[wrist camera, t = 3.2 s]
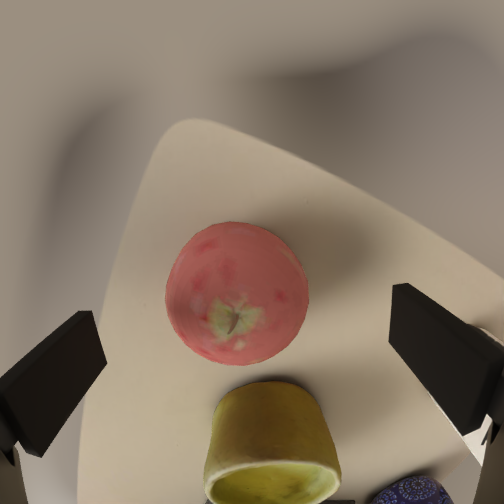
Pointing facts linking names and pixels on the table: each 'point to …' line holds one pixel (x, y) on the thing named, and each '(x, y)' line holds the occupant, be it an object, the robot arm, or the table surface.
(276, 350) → the apple
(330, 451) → the mug
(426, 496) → the planter
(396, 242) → the table surface
